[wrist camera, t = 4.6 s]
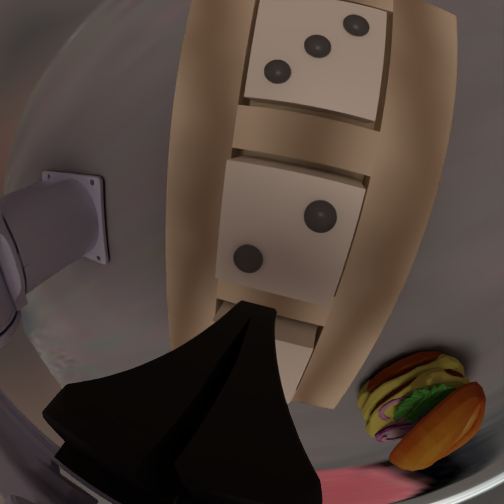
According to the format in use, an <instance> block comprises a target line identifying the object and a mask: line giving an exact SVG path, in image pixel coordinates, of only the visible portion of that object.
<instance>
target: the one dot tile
mask: <svg viewBox="0 0 504 504" xmlns="http://www.w3.org/2000/svg"><path fill="white" fill-rule="evenodd" d="M235 305H236V303H232V302H229V301H224V302H223V304H222V306H221V307H220V309H219V310H218V312H217V314H216V315H215V317H214V318H213V320H212V324H213V323H215V322H216V321H217V320H219V319H220V318H221V317H222V316H223V315H225V314H226V313H227V312H228V311H229V310H230V309H232V308H233V307H234V306H235ZM315 333H316V324H312V323H308V322H303V321H299V320H295V319H291V318H287V317H284V316H280V315H276V319H275V345H276V355H277V362H278V368H279V374H280V379H281V383H282V388H283V392H284V395H285V399H286V402H287V403H288V404H289V403H290V401H291V398H292V396H293V394H294V392H295V390H296V388H297V386H298V383H299V381H300V379H301V377H302V374H303V372H304V370H305V368H306V365H307V363H308V361H309V358H310V356H311V354H312V351H313V349H314V341H315Z"/></svg>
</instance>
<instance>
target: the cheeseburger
mask: <svg viewBox="0 0 504 504" xmlns="http://www.w3.org/2000/svg"><path fill="white" fill-rule="evenodd" d="M357 397H358V407H359V408H360V410H362V417H363V419H364V420H365V421H366V422H367V423H366V424H367V425H366V427H365V429H366V431H367V432H368V433H369V435H370V436H372V437H375V439H376V440H377V441H380V442H389V441H395V440H398V439H402V438H403V439H402V440H401V441H400V442H399V443H398V444H397V445H396V447H395V448H394V449H393V451H392V452H391V453H390V456H389V460H390V462H391V463H393V464H394V465H396V466H398V467H399V468H401V469H405V470H410V471H415V470H419V469H424V468H427V467H429V466H431V465H432V464H433V463H434V462H436V461H437V460H438V459H441V458H443V457H445V456H446V455H448V454H450V453H451V452H453V451H455V450H456V449H458V448H459V447H461V446H462V445H464V444H465V443H466V442H468V441H469V440H470V439H471V438H472V437H473V436H474V435H475V434H476V433H477V431H478V430H479V428H480V425H481V423H482V421H483V418H484V412H485V403H486V397H485V394H484V391H483V388H482V387H481V386H480V385H479V384H478V383H477V382H471V383H469V379H468V377H465V373H464V368H463V365H462V364H461V363H460V362H459V361H458V360H457V359H456V358H454V357H452V356H449V355H445V354H443V353H441V352H439V351H422V352H418V353H416V354H413V355H411V356H408V357H406V358H403V359H401V360H399V361H397V362H396V363H394V364H392V365H390V366H389V367H387V368H385V369H383V370H382V371H381V372H380V373H378V374H377V375H376V376H375V377H374V378H372V379H371V380H370V381H369V380H368V381H367V382H366V383H365V384H364V386H363V387H362V389H361V390H360V392H359V394H358V396H357Z"/></svg>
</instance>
